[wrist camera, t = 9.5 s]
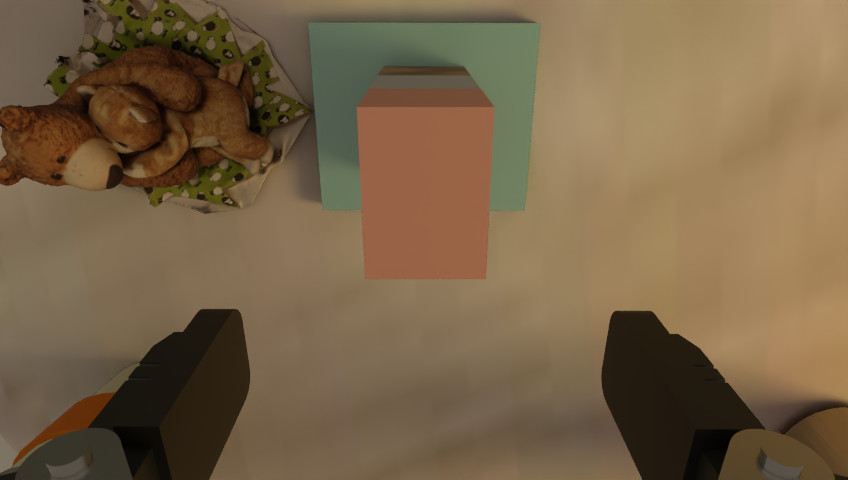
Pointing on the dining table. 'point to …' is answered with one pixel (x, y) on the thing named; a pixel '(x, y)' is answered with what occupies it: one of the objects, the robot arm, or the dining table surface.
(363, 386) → the dining table surface
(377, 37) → the baseplate
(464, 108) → the red brick
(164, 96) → the bear figurine
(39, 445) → the reusable coffee cup
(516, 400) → the dining table surface
